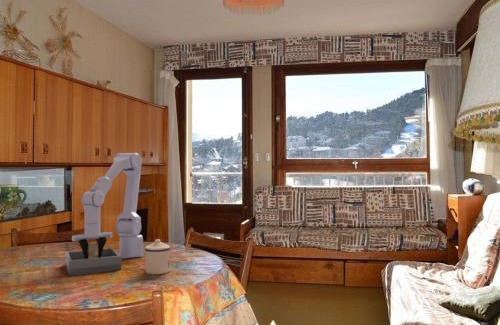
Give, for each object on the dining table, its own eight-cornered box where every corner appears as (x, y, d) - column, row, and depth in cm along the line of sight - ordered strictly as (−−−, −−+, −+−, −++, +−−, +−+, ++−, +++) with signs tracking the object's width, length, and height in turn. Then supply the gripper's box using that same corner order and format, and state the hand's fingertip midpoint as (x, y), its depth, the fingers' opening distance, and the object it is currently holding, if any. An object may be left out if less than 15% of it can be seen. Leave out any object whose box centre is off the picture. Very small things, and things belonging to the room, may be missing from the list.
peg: (96, 262, 163) (96, 242, 163) (100, 264, 160) (100, 243, 160) (84, 264, 160) (84, 243, 160) (88, 266, 157) (88, 245, 157)
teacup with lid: (174, 272, 152) (174, 240, 152) (150, 276, 146) (150, 242, 147) (161, 266, 161) (161, 235, 162) (138, 269, 156) (138, 238, 156)
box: (113, 259, 172) (113, 247, 172) (121, 269, 156) (121, 256, 156) (65, 264, 164) (65, 252, 164) (68, 275, 148) (68, 261, 148)
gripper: (108, 219, 167) (108, 253, 167) (69, 223, 159) (69, 258, 159) (114, 221, 162) (114, 257, 162) (74, 225, 153) (74, 262, 153)
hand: (92, 258), depth 160 cm, fingers closed on peg, 4 cm apart
